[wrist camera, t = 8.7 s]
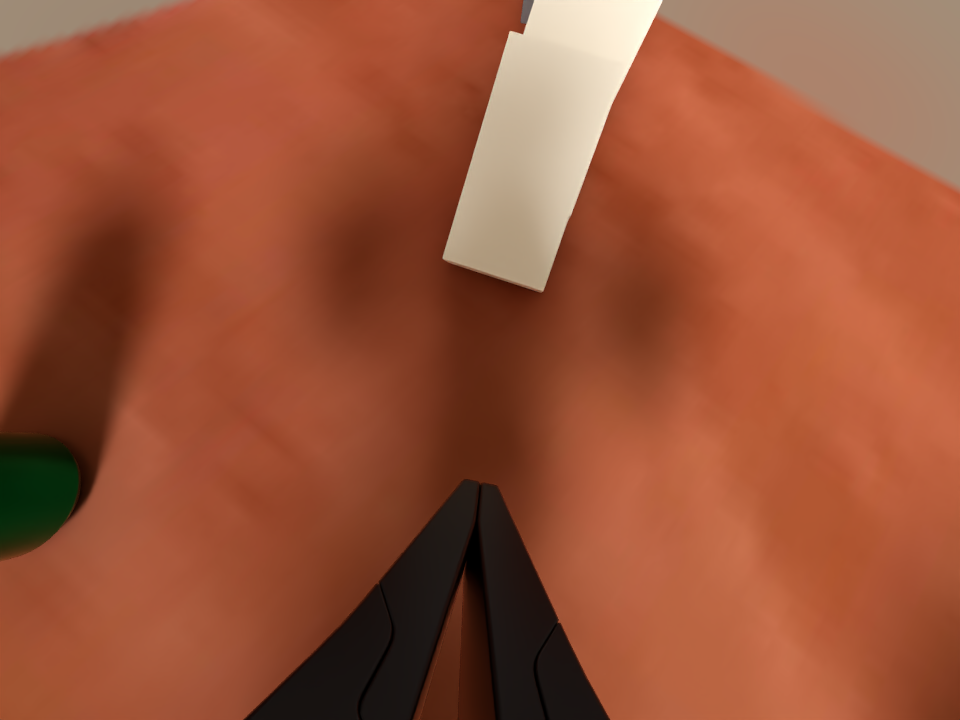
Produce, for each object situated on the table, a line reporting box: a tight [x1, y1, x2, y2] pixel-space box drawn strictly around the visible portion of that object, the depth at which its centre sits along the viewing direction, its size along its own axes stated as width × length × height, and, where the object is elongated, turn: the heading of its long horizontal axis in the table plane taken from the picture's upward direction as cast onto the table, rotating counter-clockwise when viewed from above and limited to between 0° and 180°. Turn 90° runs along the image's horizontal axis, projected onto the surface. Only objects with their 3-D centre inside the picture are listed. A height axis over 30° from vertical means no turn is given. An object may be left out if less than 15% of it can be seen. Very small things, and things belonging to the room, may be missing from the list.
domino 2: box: [523, 0, 650, 220], centre depth 19 cm, size 2×5×10 cm
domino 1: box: [442, 31, 622, 293], centre depth 18 cm, size 2×5×10 cm
